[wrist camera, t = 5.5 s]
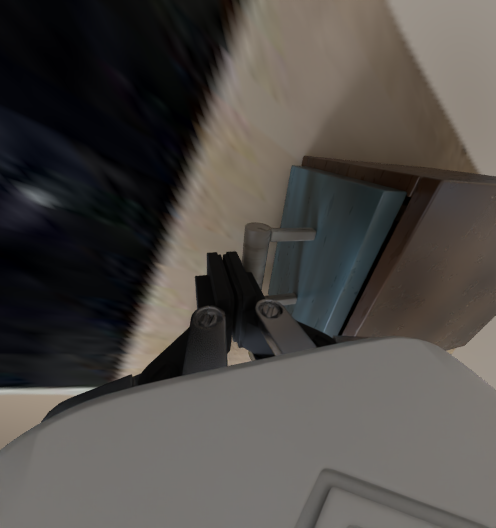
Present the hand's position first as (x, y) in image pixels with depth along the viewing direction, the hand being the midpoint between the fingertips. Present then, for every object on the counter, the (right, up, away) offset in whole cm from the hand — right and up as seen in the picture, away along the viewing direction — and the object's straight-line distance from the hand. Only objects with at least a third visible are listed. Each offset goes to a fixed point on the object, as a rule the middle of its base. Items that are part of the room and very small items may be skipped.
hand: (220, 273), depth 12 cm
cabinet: (+12, +3, +8) cm, 14 cm away
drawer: (+8, +3, +6) cm, 10 cm away
